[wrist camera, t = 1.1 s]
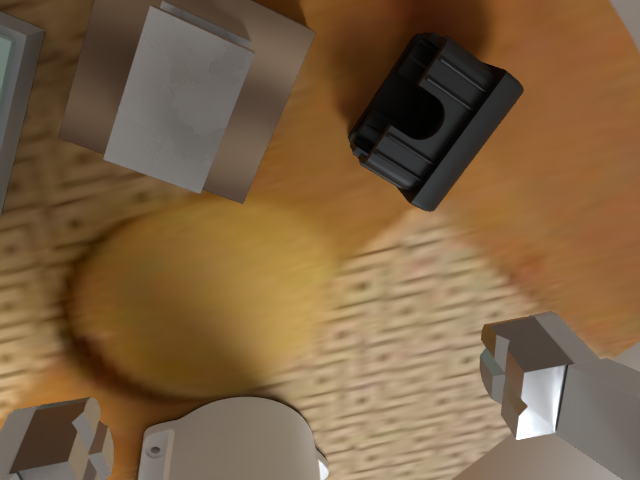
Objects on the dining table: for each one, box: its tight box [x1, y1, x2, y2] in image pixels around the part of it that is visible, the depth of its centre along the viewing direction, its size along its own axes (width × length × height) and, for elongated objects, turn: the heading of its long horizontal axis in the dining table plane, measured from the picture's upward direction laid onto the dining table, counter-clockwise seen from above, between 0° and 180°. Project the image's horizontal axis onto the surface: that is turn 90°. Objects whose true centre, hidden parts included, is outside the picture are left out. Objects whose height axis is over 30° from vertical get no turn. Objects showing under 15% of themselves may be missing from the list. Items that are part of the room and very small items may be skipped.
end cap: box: [348, 32, 524, 212], centre depth 36 cm, size 10×7×7 cm
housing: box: [103, 0, 255, 194], centre depth 29 cm, size 8×5×6 cm, turn 155°
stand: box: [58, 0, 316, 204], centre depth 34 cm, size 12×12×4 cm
